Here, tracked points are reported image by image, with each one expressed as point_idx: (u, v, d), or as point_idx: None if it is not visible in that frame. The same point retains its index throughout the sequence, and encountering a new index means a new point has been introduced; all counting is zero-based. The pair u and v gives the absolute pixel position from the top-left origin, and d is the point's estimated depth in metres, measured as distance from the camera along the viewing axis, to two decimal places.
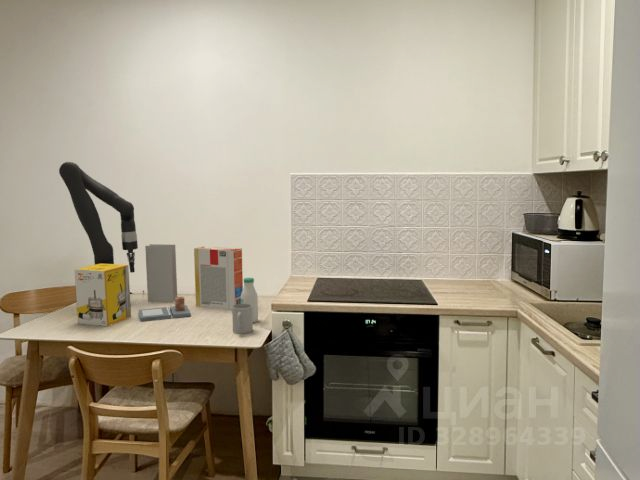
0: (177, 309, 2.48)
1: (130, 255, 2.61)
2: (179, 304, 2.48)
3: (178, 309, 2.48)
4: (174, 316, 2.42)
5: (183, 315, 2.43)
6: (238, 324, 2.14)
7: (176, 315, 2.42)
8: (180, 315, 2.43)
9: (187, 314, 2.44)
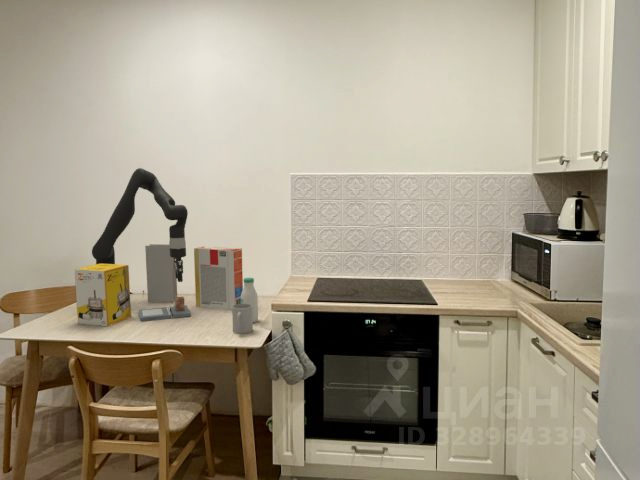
0: (177, 309, 2.48)
1: (179, 263, 2.41)
2: (179, 304, 2.48)
3: (178, 309, 2.48)
4: (174, 316, 2.42)
5: (183, 315, 2.43)
6: (238, 324, 2.14)
7: (176, 315, 2.42)
8: (180, 315, 2.43)
9: (187, 314, 2.44)
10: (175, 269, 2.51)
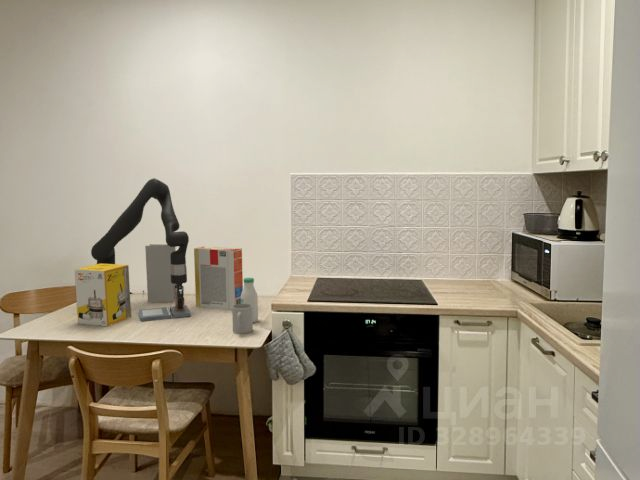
0: (177, 309, 2.48)
1: (180, 292, 2.43)
2: None
3: (178, 309, 2.48)
4: (174, 316, 2.42)
5: (183, 315, 2.43)
6: (238, 324, 2.14)
7: (176, 315, 2.42)
8: (180, 315, 2.43)
9: (187, 314, 2.44)
10: None
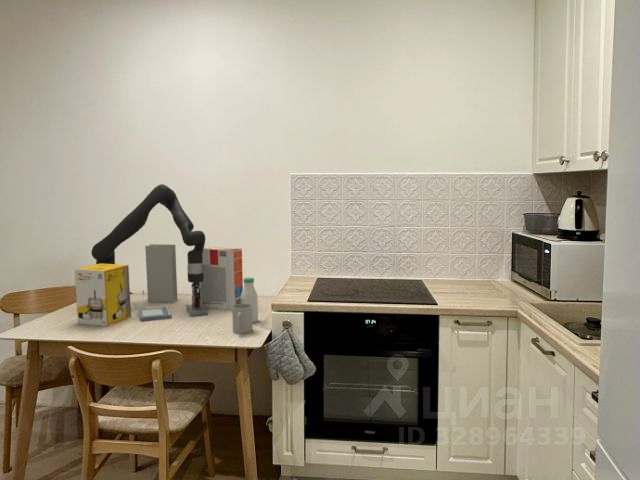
0: (194, 307, 2.51)
1: (197, 291, 2.46)
2: None
3: (195, 307, 2.51)
4: (191, 314, 2.45)
5: (200, 313, 2.46)
6: (238, 324, 2.14)
7: (193, 313, 2.45)
8: (197, 313, 2.46)
9: (204, 312, 2.47)
10: (193, 295, 2.54)
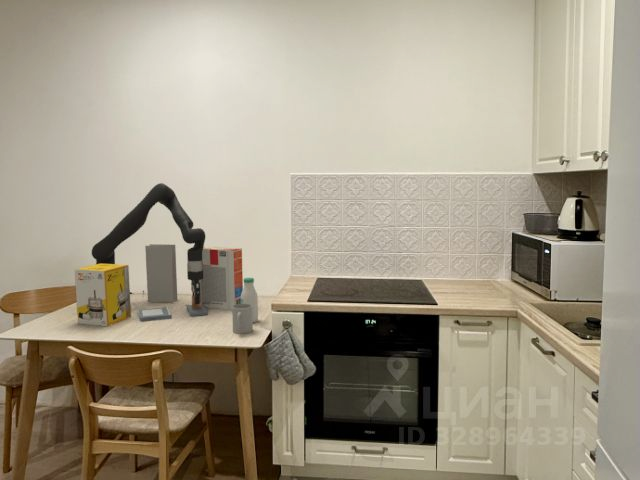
0: (194, 307, 2.51)
1: (197, 286, 2.45)
2: None
3: (195, 307, 2.51)
4: (191, 314, 2.45)
5: (200, 313, 2.46)
6: (238, 324, 2.14)
7: (193, 313, 2.45)
8: (197, 313, 2.46)
9: (204, 312, 2.47)
10: (192, 291, 2.55)
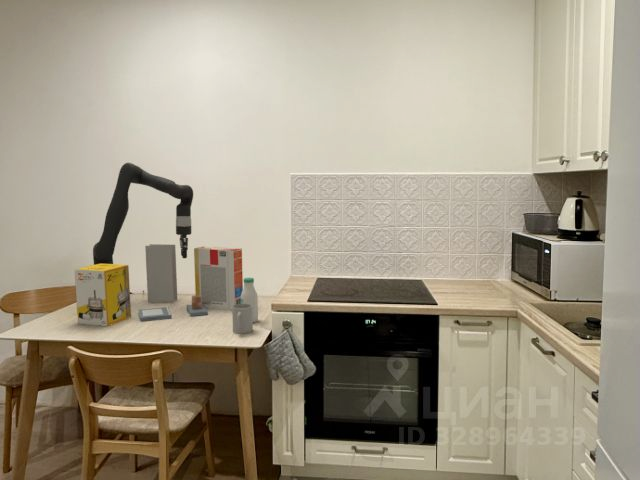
0: (194, 307, 2.51)
1: (184, 240, 2.53)
2: (196, 303, 2.51)
3: (195, 307, 2.51)
4: (191, 314, 2.45)
5: (200, 313, 2.46)
6: (238, 324, 2.14)
7: (193, 313, 2.45)
8: (197, 313, 2.46)
9: (204, 312, 2.47)
10: (181, 246, 2.63)
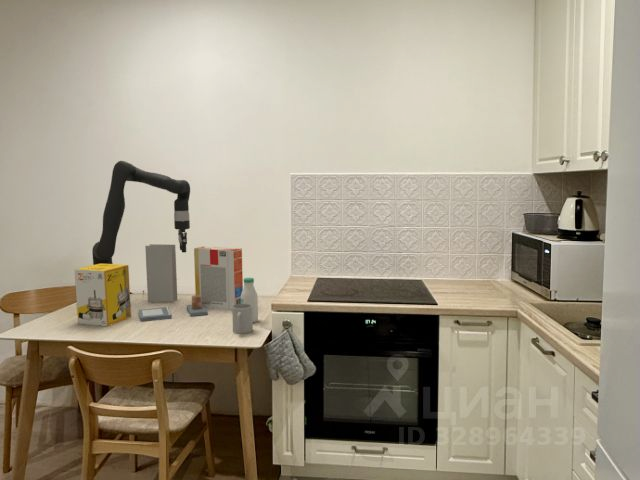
0: (194, 307, 2.51)
1: (183, 234, 2.56)
2: (196, 303, 2.51)
3: (195, 307, 2.51)
4: (191, 314, 2.45)
5: (200, 313, 2.46)
6: (238, 324, 2.14)
7: (193, 313, 2.45)
8: (197, 313, 2.46)
9: (204, 312, 2.47)
10: (179, 241, 2.66)
